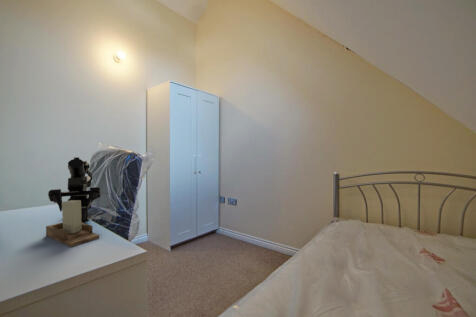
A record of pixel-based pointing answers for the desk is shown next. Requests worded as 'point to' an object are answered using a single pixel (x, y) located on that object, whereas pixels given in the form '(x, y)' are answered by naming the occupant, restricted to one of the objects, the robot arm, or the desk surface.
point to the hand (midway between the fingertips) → (74, 209)
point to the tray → (71, 239)
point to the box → (72, 216)
